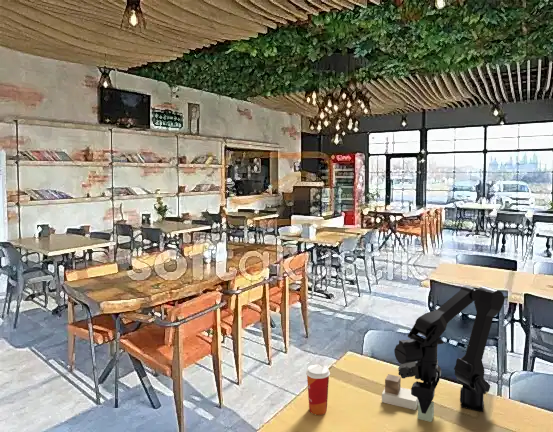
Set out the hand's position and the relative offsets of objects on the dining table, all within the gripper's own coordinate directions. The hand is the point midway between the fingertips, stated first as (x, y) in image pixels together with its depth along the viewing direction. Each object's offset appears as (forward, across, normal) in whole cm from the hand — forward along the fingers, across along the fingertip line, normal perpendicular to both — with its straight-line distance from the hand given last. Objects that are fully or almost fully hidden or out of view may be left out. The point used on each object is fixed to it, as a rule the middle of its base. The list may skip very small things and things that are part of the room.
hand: (426, 406), depth 135 cm
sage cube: (+4, 0, 0) cm, 4 cm away
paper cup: (+4, +12, -32) cm, 34 cm away
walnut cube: (0, -6, -12) cm, 13 cm away
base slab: (+4, -6, -9) cm, 11 cm away
